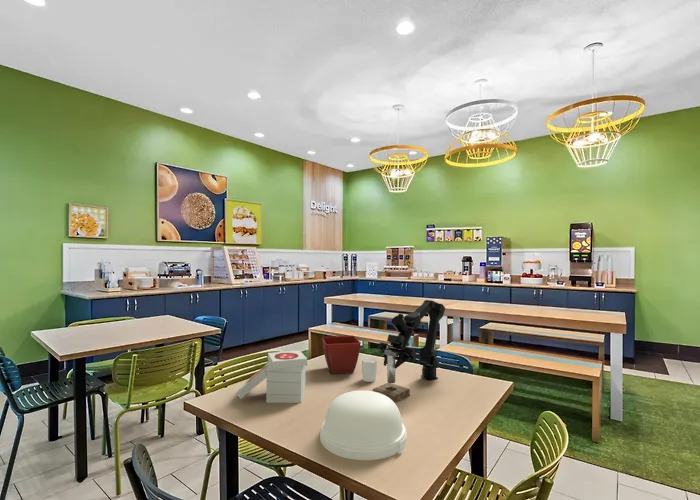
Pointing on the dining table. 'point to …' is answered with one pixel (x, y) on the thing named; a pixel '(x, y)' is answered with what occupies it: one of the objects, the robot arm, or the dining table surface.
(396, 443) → the dome cover
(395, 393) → the socket block
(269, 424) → the dining table surface
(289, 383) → the pizza boxes
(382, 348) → the robot arm
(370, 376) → the white cup
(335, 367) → the plant pot
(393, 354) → the t key
